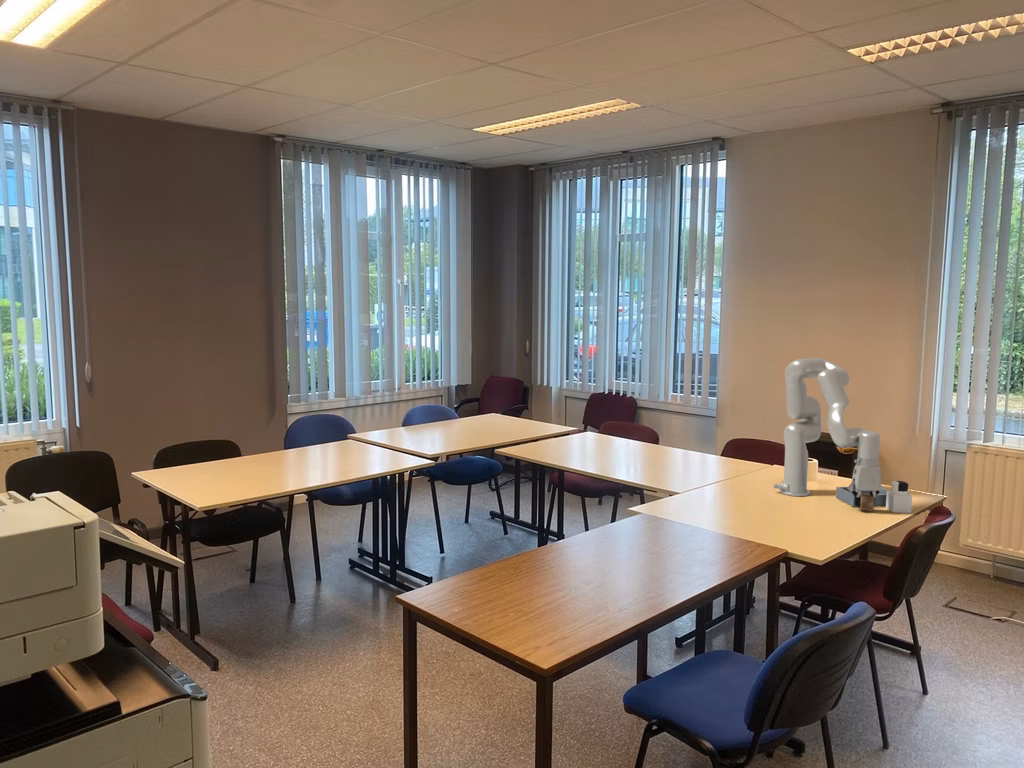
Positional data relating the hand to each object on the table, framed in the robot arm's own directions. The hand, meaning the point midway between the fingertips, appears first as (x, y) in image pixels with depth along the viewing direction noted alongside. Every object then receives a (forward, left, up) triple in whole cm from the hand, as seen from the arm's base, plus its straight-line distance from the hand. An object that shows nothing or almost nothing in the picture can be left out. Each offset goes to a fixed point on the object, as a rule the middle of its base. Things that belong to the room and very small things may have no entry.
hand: (863, 505), depth 296 cm
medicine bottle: (+14, -1, -3) cm, 15 cm away
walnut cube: (0, 0, -1) cm, 1 cm away
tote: (+8, +12, -2) cm, 15 cm away
